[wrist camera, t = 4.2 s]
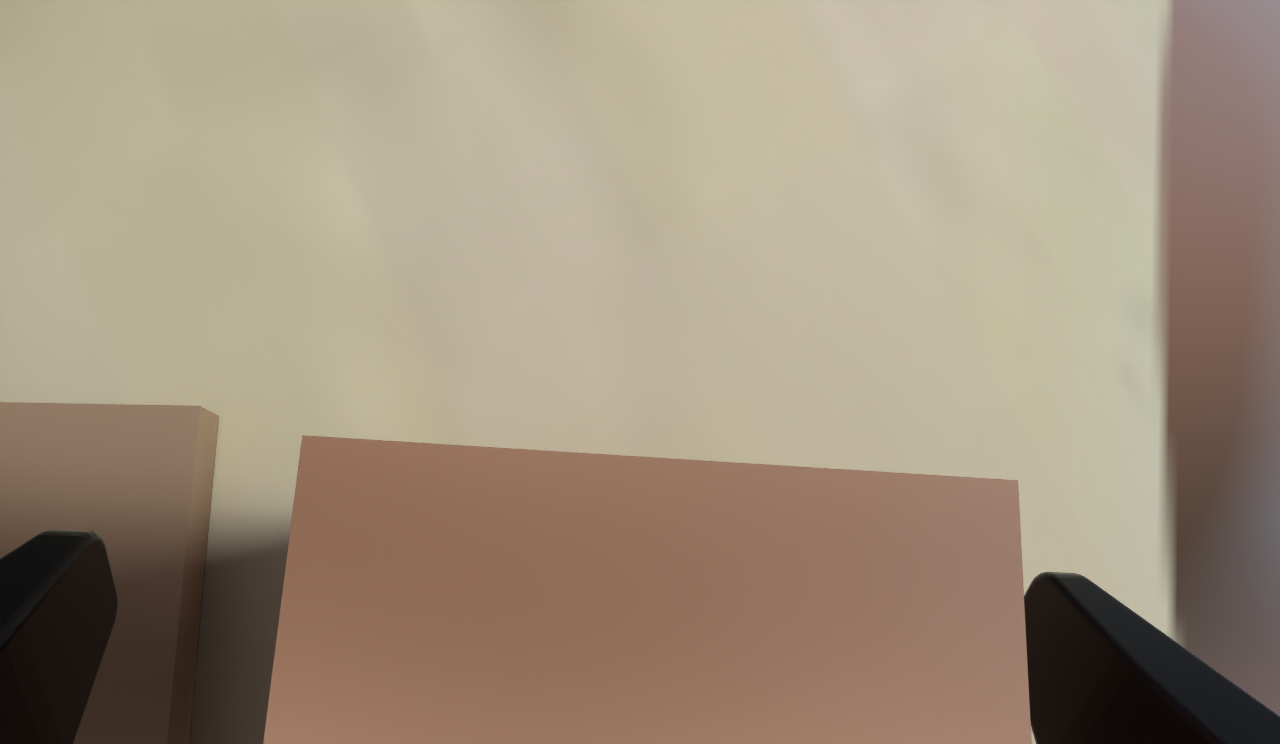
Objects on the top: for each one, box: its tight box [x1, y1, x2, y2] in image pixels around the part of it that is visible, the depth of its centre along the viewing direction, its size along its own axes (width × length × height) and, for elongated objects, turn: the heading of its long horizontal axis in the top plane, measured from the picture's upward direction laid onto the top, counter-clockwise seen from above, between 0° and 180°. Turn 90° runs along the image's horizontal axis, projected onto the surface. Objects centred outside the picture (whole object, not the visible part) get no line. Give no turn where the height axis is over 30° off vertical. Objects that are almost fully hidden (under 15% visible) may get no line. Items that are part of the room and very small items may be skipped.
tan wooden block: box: [263, 436, 1032, 744], centre depth 10 cm, size 4×4×10 cm
